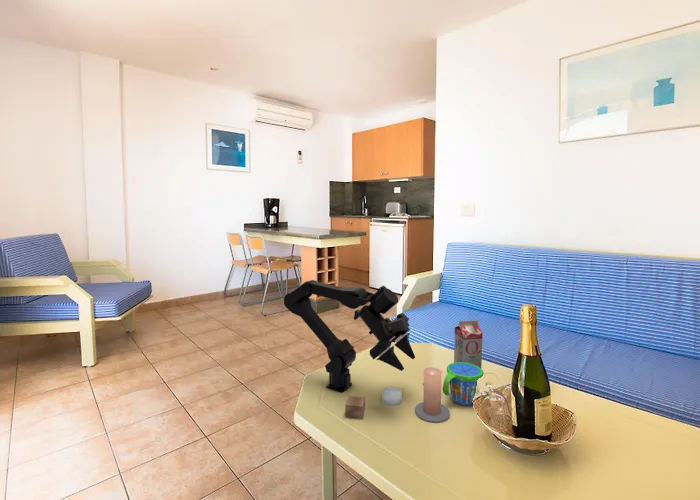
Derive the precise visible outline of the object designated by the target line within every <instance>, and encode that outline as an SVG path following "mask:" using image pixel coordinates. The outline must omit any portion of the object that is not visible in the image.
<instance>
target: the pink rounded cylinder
mask: <svg viewBox="0 0 700 500" xmlns="http://www.w3.org/2000/svg"><path fill="white" fill-rule="evenodd" d="M442 375H443V374H442V371H441V369H439V368H436V367H427V368H424V369H423V394H422V395H423V396H422V397H423V400H422V402H423V411H424V412H425V413H426V414H428V415H439V414H440V413H441V404H442Z"/></svg>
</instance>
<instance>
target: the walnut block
mask: <svg viewBox="0 0 700 500" xmlns="http://www.w3.org/2000/svg"><path fill="white" fill-rule="evenodd" d="M344 407H345V409H344V414H345V417H346V419H353V420H356V419H357V420H363V419H364V416H365V412H366V397H364V396H363V397H362V396H354V395H353V396H352V395H348V396H347V399H346V402H345V404H344Z"/></svg>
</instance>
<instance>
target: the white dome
mask: <svg viewBox="0 0 700 500" xmlns="http://www.w3.org/2000/svg"><path fill="white" fill-rule="evenodd" d="M381 394H382V395H381V397H382V399H381V401H382V403H383V404H385V405H387V406H390V407H394V406H395V407H396V406H399V405H401V404H402V402H403V401H402V394H403V393H402V390H401V389H400V388H397V387H394V386H393V387H391V386H388V387H385V388H383V389H382V390H381Z"/></svg>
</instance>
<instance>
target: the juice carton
mask: <svg viewBox="0 0 700 500" xmlns="http://www.w3.org/2000/svg"><path fill="white" fill-rule="evenodd" d="M453 334H454V341H453V363H455V362H465V363H470V364H473V365H476V366H478V367H479V368H481V369H482V364H483V363H482V360H483V359H482V358H483V357H482V356H483V331H482V329H481V327H480V326H479V320H476V319H474V320H459V321H458V326H455V327H454V333H453Z"/></svg>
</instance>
